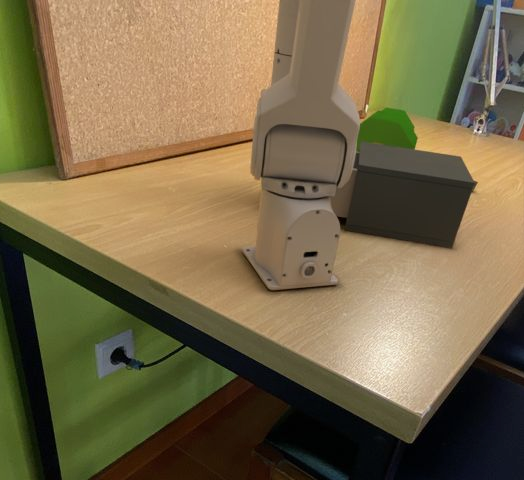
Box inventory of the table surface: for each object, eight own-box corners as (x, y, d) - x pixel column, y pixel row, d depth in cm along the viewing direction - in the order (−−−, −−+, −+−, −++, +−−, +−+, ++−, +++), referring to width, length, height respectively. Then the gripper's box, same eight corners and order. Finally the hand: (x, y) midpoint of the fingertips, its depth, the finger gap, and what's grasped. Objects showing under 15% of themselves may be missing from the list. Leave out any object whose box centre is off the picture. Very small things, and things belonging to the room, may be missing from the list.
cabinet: (344, 230, 67) (358, 164, 62) (348, 200, 77) (360, 141, 72) (452, 248, 66) (475, 182, 61) (441, 215, 75) (461, 156, 70)
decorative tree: (359, 110, 71) (390, 77, 93) (317, 178, 78) (355, 133, 101) (425, 156, 71) (440, 112, 94) (377, 220, 79) (402, 165, 101)
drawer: (253, 206, 68) (258, 154, 64) (267, 182, 77) (272, 135, 73) (383, 228, 66) (396, 176, 62) (382, 201, 75) (393, 154, 71)
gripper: (274, 45, 68) (264, 150, 76) (254, 56, 56) (244, 178, 64) (326, 52, 67) (310, 157, 75) (316, 64, 55) (299, 187, 63)
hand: (283, 167), depth 70 cm, fingers closed
